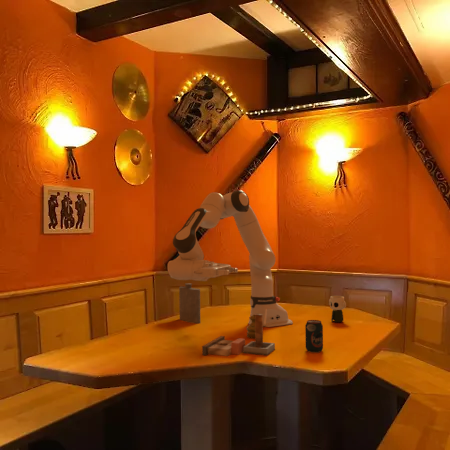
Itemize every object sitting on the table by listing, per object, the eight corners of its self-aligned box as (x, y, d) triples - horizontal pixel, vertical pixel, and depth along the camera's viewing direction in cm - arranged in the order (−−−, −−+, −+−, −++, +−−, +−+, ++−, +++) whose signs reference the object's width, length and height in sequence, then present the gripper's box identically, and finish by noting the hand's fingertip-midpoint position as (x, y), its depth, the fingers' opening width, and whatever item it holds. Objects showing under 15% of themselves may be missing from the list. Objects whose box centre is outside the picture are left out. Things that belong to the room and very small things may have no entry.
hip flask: (201, 322, 262) (201, 284, 262) (195, 324, 259) (195, 285, 259) (183, 318, 274) (182, 281, 274) (177, 319, 271) (176, 282, 271)
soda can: (314, 354, 199) (314, 323, 199) (302, 350, 205) (301, 321, 205) (326, 351, 203) (326, 321, 203) (314, 347, 209) (313, 318, 209)
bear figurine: (324, 321, 263) (324, 296, 263) (333, 319, 268) (333, 294, 267) (341, 324, 255) (341, 298, 254) (350, 322, 259) (350, 297, 259)
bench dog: (231, 354, 200) (231, 342, 200) (238, 349, 208) (238, 338, 208) (238, 354, 199) (238, 343, 199) (245, 349, 207) (245, 338, 207)
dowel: (261, 347, 206) (260, 313, 206) (264, 349, 203) (263, 315, 203) (254, 348, 205) (254, 314, 205) (257, 350, 202) (256, 315, 202)
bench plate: (205, 353, 201) (204, 347, 201) (218, 345, 214) (218, 339, 214) (228, 355, 198) (228, 349, 198) (240, 347, 211) (240, 341, 210)
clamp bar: (202, 355, 199) (202, 346, 199) (221, 344, 217) (221, 335, 217) (206, 355, 199) (206, 346, 199) (224, 344, 216) (224, 336, 216)
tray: (243, 353, 202) (243, 346, 202) (251, 347, 211) (251, 341, 211) (267, 355, 198) (267, 349, 198) (274, 349, 207) (274, 343, 207)
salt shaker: (248, 339, 225) (248, 316, 225) (245, 335, 232) (244, 313, 232) (264, 338, 227) (264, 316, 226) (260, 334, 234) (260, 313, 234)
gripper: (191, 265, 204) (223, 266, 199) (212, 261, 223) (241, 261, 218) (191, 280, 204) (223, 282, 199) (212, 275, 223) (241, 276, 218)
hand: (233, 271), depth 208 cm, fingers open, 8 cm apart
